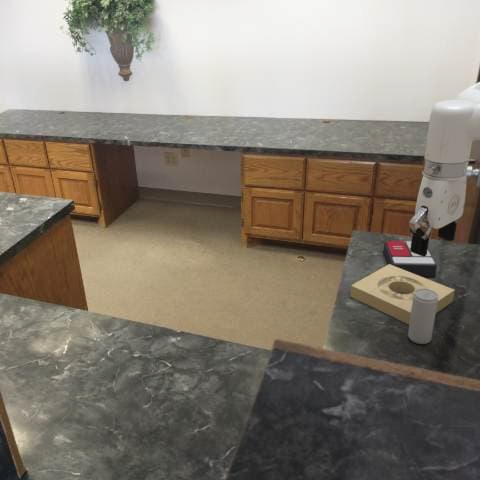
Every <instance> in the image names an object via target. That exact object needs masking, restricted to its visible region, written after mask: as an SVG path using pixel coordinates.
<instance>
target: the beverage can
mask: <svg viewBox="0 0 480 480" xmlns="http://www.w3.org/2000/svg"><path fill="white" fill-rule="evenodd" d="M437 304H438V295H437V293H436V292H434V291H432V290H429V289H418V290H416V291H415V293H414V295H413V302H412V309H411V317H410V324H408V332H407V337H408V339H409V340H410V341H411V342H413V343H415V344H417V345H426V344H429V343H430V342H432V338H433V331H434V325H435V320H436V314H437V313H436V309H437Z"/></svg>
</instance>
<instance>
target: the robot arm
mask: <svg viewBox="0 0 480 480" xmlns="http://www.w3.org/2000/svg"><path fill="white" fill-rule="evenodd" d="M428 121H429V122H428V129H427V135H426V143H425V149H424V157H423V163H422V170H421V171H422V172H421V174H422V175H423V176H422V178H421V183H420V186H419V189H418V194H417V198H416V203H415V209H414V210H415V211H414V215H413V216H412V218H411V219H409V222H408V225H409V232H410V235H411V241H412V242H411V249H410V251H411V252H412V253H415V254H418V255H421V256H426V255H427V250H429V242H430V238H429V237H428V236H429V235H430V233H431V231H432V229H434V230H438V233H437V237H438V238H441V239H443V240H445V241H450V242H453V241H454V240H455V239H456V238H455V236H456V231H457V225H458V222H459V220H460V218H462V216H463V214H464V209H465V202H466V196H467V181H468V179H467V178H468V176H467V173H468V167H469V162H470V157H471V150H472V145H473V142H474V141H480V81H478V82H477V83H474V84H472V85H471V86H469V87H467V88H466V89H464V90H462V91H461V92H460V93H458V94H457V95H456V96H455V97H454V98H453V99H446V100H445V99H444V100H441V101H438V102H436V103H434V104H433V105H432V107H431V109H430V114H429V120H428ZM421 227H425V229H424V231H423V229H422V228H421Z"/></svg>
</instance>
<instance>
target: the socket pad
mask: <svg viewBox="0 0 480 480" xmlns="http://www.w3.org/2000/svg"><path fill="white" fill-rule="evenodd" d="M418 289H429V290H432V291H434V292H436V293H437V295H438V304H437V309H436V314H437V313H438V312H440V311H441V310H444V308H446V307H448V306H449V305H451V304H452V303H453V302H454V298H455V292H456V289H455V288H451V287H448V286H446V285H443V284H441V283H439V282H436V281H434V280H432V279H428V278H427V277H421V276H418V275H416V274H413V273H411V272H408V271H406V270H403V269H400V268H398V267H395V266H393V265H390V264H387V265H385V266H383V267H381V268H379V269H378V270H376V271H374V272H372V273H371V274H369V275H367V276H365V277H363V278H362V279H360V280H358V281H356V282H354V283H353V284H351V285H350V295H349V296H350V298H352V299H354V300H357V301H359V302H360V303H362V304H365V305H367V306H368V307H371V308H374V309H376V310H377V311H380V312H381V313H384V314H386V315H388V316H390V317H392V318H394V319H396V320H398V321H399V322H402V323H404V324H407V325H409V324H410V317H411V309H412V302H413V295H414V293H415V291H416V290H418Z"/></svg>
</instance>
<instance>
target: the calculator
mask: <svg viewBox="0 0 480 480" xmlns="http://www.w3.org/2000/svg"><path fill="white" fill-rule="evenodd" d="M411 242H412V240H407V241H404V240H386V241H385V242H384V243H383V253H384V256H385V259H386V262H387V265H389V264H390V265H393V266H395V267H398V268H400V269H403V270H406V271H408V272H411V273H413V274H416V275H418V276H421V277H423V278H435V277H436V276H437V268H438V267H437V266H438V265H437V263H436V260H435V259H434V256H432V254H431V252H430V250H429V249H428V250H427V255H426V256H421V255H418V254H415V253H412V252H411V251H410V249H411Z"/></svg>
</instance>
